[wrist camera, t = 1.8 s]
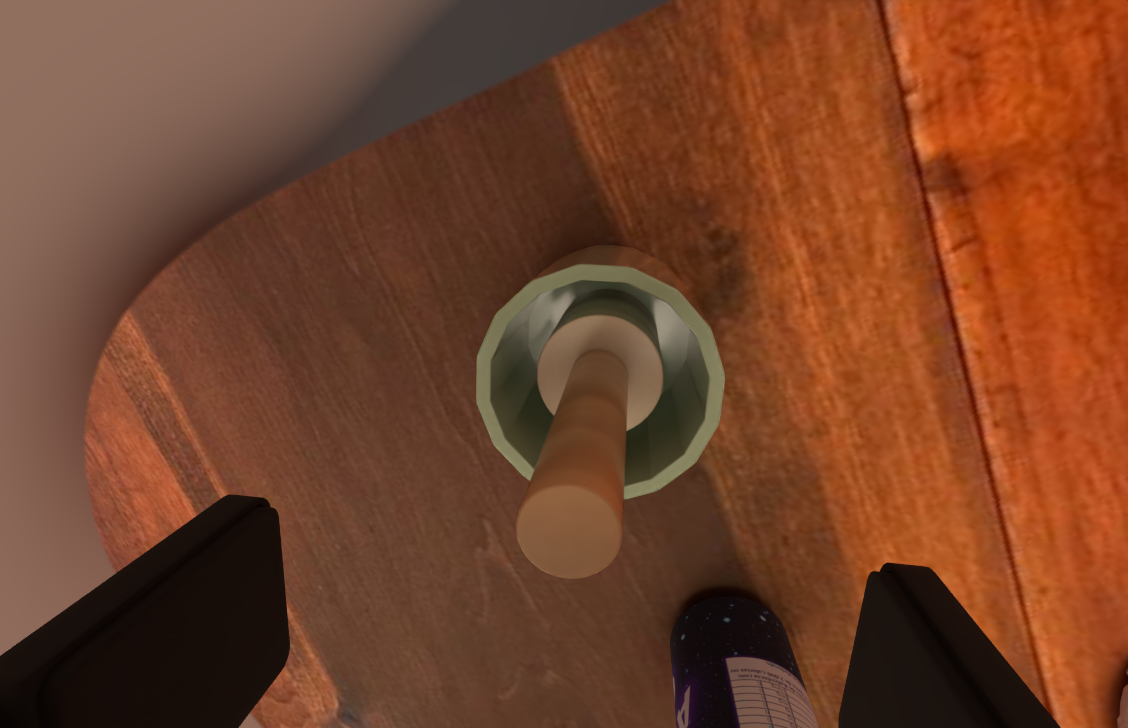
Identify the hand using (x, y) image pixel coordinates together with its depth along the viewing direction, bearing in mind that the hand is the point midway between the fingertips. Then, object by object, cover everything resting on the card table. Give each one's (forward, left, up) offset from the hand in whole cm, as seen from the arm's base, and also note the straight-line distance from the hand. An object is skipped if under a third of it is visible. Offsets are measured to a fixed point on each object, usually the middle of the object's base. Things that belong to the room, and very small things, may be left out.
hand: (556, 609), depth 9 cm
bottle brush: (0, 0, -18) cm, 18 cm away
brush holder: (0, 0, -18) cm, 18 cm away
